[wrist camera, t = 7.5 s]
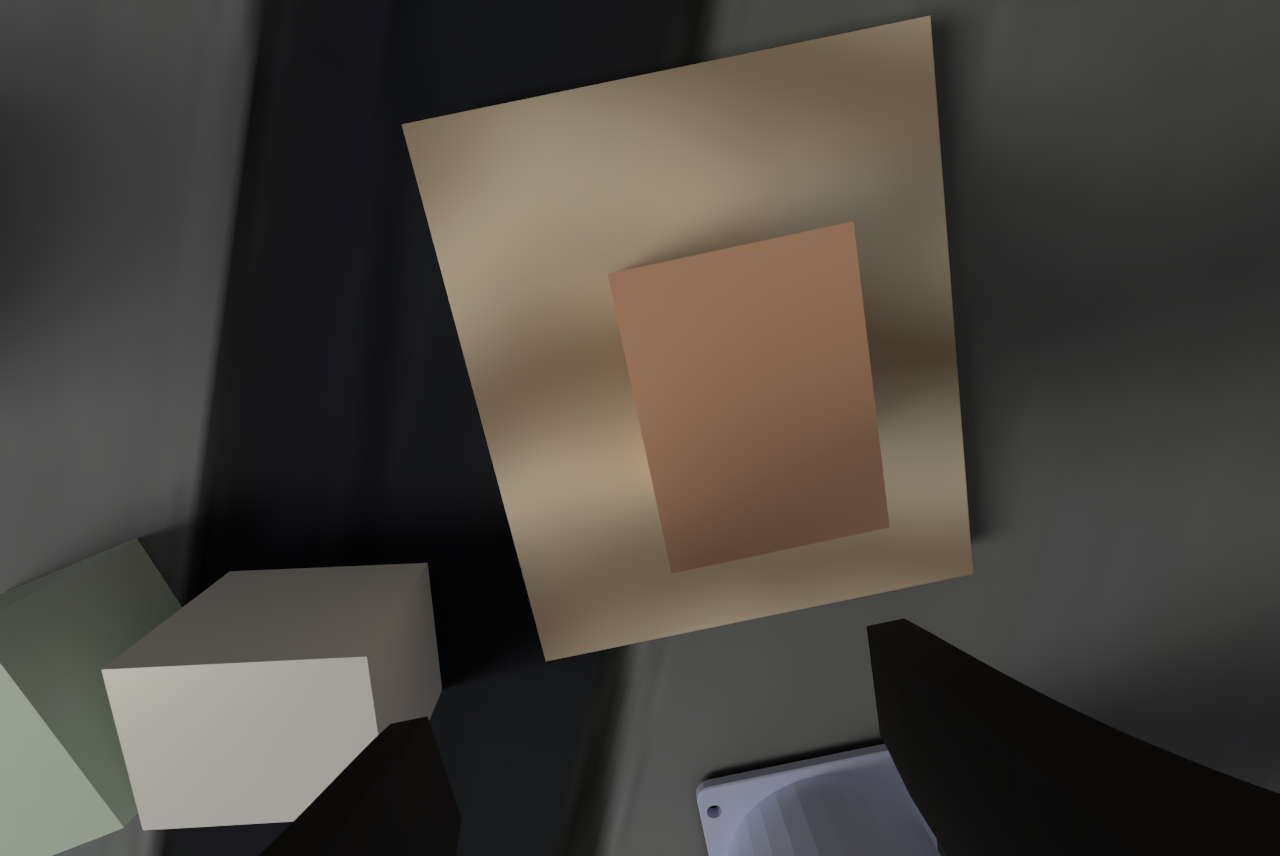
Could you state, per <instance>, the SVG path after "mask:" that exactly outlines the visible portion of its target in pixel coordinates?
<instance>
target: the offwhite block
mask: <svg viewBox="0 0 1280 856" xmlns="http://www.w3.org/2000/svg"><path fill="white" fill-rule="evenodd" d="M101 671H102V675H103V679H104V683H105V687H106V691H107V694H108V698H109V702H110V706H111V710H112V714H113V717H114V721H115V725H116V729H117V733H118V737H119V741H120V744H121V748H122V752H123V756H124V760H125V764H126V767H127V771H128V775H129V779H130V783H131V787H132V791H133V794H134V798H135V802H136V806H137V810H138V814H139V818H140V821H141V825H142V829H143V830H159V829H175V828H192V827H209V826H226V825H243V824H260V823H277V822H294V821H295V819H296V818H297V817H298V816H299V815H300V814H301V813H302V812H303V811H304V810H305V809H306V808H307V807H308V806H309V805H310V804H311V803H312V802H313V801H314V800H315V799H316V798H317V797H318V796H319V795H320V794H321V793H322V792H323V791H324V790H325V789H326V788H327V787H328V786H329V785H330V784H331V783H332V782H333V781H334V779H335V778H336V777H337V776H338V775H339V774H340V773H341V772H342V771H343V770H344V769H345V768H346V767H347V766H348V765H349V764H350V763H351V762H352V761H353V760H354V759H355V758H356V757H357V756H358V755H359V754H360V753H361V752H362V751H363V750H364V749H365V748H366V747H367V746H368V745H369V744H370V743H371V742H372V741H373V740H374V739H375V738H376V737H377V736H378V735H379V734H380V733H381V732H382V731H383V730H384V729H385V728H387V727H388V726H389V725H390V724H392V723H397V722H402V721H406V720H411V719H416V718H421V717H426V716H428V719H429V720H430V717H431V715H432V713H433V710H434V708H435V705H436V703H437V700H438V698H439V696H440V693H441V691H442V685H441V676H440V668H439V659H438V650H437V641H436V633H435V624H434V615H433V606H432V597H431V589H430V580H429V571H428V563H414V564H391V565H368V566H345V567H322V568H298V569H275V570H252V571H230V572H228V573H227V574H226V575H224V576H223V577H222V578H220V579H219V580H218V581H217V582H215V583H214V584H213V585H211V586H210V587H209V588H207V589H206V590H205V591H203V592H202V593H201V594H199V595H198V596H197V597H196V598H194V599H193V600H192V601H190V602H189V603H188V604H186V605H185V606H184V607H182V608H181V609H180V610H179V611H177V612H176V613H175V614H173V615H172V616H171V617H169V618H168V619H167V620H165V621H164V622H163V623H161V624H160V625H159V626H158V627H156V628H155V629H154V630H152V631H151V632H150V633H148V634H147V635H146V636H144V637H143V638H142V639H140V640H139V641H138V642H137V643H135V644H134V645H133V646H131V647H130V648H129V649H127V650H126V651H125V652H123V653H122V654H121V655H119V656H118V657H117V658H116V659H114V660H113V661H112V662H110V663H109V664H108V665H106V666H105V667H104V668H102V669H101Z"/></svg>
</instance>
